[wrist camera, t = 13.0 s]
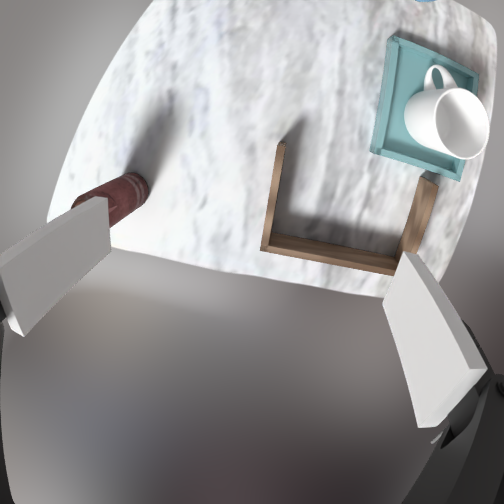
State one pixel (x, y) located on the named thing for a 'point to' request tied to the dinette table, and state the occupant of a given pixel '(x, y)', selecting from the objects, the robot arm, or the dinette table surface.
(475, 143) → the mug
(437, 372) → the robot arm
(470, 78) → the tray
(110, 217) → the can
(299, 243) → the bay
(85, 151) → the dinette table surface
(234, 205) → the dinette table surface
